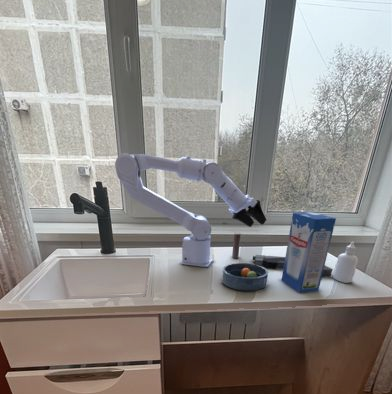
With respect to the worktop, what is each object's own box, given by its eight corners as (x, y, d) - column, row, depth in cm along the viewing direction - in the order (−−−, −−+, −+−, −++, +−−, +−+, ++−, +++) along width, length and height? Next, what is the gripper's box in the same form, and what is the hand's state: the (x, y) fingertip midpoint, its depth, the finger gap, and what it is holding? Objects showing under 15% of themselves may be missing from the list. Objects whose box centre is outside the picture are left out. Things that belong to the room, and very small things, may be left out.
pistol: (335, 272, 89) (325, 258, 102) (252, 265, 93) (253, 253, 106) (333, 279, 90) (324, 264, 103) (251, 272, 94) (252, 258, 107)
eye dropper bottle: (344, 277, 92) (354, 239, 87) (353, 283, 88) (365, 244, 82) (330, 276, 92) (340, 239, 86) (339, 283, 87) (350, 244, 82)
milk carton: (281, 280, 89) (292, 212, 79) (298, 278, 90) (312, 212, 81) (299, 292, 81) (315, 219, 71) (318, 290, 82) (336, 218, 72)
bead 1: (240, 278, 88) (240, 269, 86) (241, 275, 90) (241, 266, 89) (249, 279, 87) (250, 270, 86) (251, 276, 89) (251, 266, 88)
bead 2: (250, 284, 86) (244, 279, 85) (250, 277, 88) (244, 271, 86) (258, 280, 85) (252, 275, 83) (258, 272, 86) (252, 267, 84)
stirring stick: (231, 258, 108) (233, 233, 104) (232, 256, 110) (234, 232, 106) (237, 258, 107) (240, 234, 103) (238, 256, 109) (241, 233, 105)
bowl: (217, 288, 82) (218, 274, 80) (226, 273, 93) (227, 261, 91) (264, 294, 79) (266, 280, 77) (267, 278, 90) (269, 265, 88)
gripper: (249, 178, 86) (277, 211, 91) (228, 189, 99) (253, 217, 104) (236, 197, 85) (264, 228, 90) (216, 205, 98) (242, 232, 104)
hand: (257, 223), depth 97 cm, fingers open, 7 cm apart
